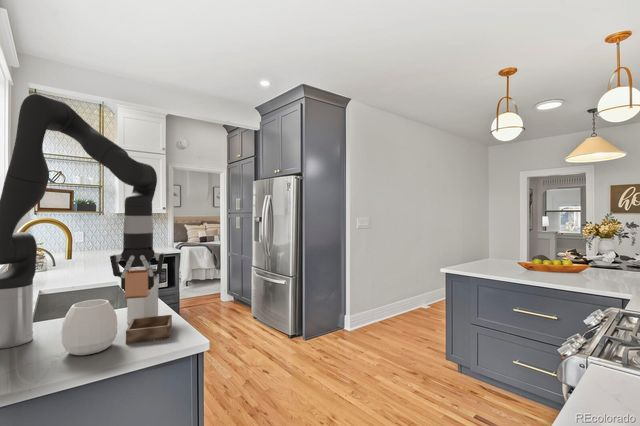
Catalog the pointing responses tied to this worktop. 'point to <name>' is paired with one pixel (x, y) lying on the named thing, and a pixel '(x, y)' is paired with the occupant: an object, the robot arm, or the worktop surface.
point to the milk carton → (143, 304)
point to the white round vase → (89, 327)
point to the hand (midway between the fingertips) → (138, 289)
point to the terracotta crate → (136, 284)
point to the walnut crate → (149, 329)
